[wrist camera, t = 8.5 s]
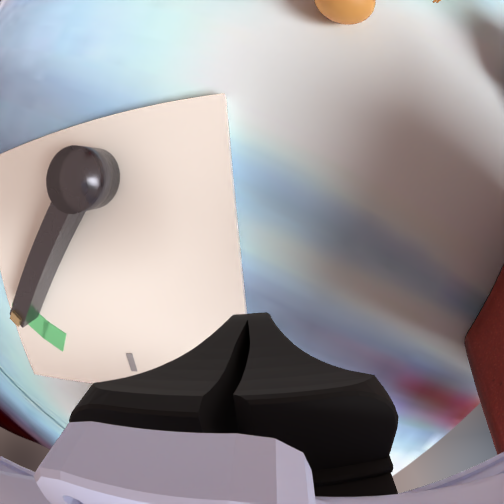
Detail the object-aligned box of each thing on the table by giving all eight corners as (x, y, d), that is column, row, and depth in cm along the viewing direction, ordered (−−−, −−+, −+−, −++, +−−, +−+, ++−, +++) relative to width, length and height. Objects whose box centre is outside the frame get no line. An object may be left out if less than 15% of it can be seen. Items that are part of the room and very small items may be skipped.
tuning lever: (89, 137, 17) (66, 132, 15) (131, 169, 18) (110, 169, 15) (18, 294, 20) (-3, 306, 18) (49, 325, 21) (30, 340, 18)
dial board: (254, 381, 22) (254, 389, 21) (39, 369, 23) (34, 374, 22) (226, 97, 18) (224, 92, 17) (-7, 160, 19) (-15, 160, 18)
